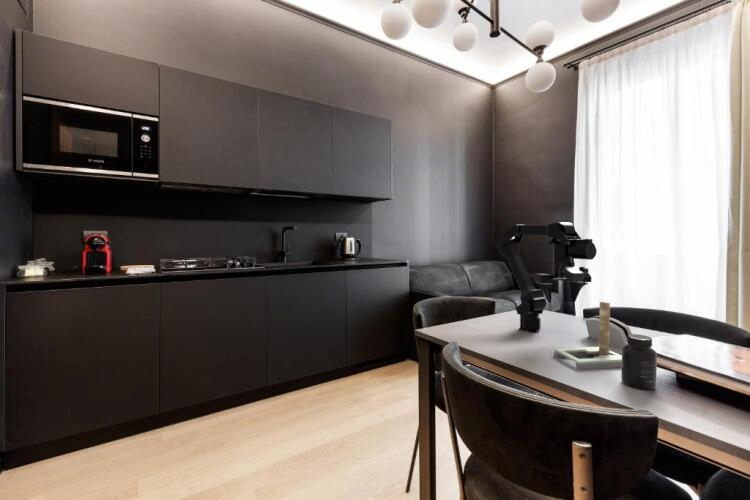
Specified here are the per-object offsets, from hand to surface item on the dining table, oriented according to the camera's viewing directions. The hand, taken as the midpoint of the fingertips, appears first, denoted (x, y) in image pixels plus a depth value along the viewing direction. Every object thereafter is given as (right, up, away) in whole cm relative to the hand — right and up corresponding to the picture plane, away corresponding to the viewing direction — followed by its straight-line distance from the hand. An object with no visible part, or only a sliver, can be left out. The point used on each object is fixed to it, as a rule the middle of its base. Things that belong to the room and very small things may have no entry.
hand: (561, 302), depth 123 cm
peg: (+1, -14, -20) cm, 25 cm away
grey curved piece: (+14, -14, -5) cm, 20 cm away
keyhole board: (-3, -14, -21) cm, 25 cm away
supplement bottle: (-1, -15, -37) cm, 40 cm away
